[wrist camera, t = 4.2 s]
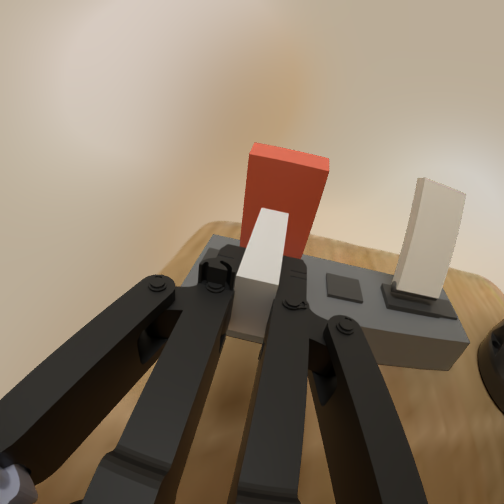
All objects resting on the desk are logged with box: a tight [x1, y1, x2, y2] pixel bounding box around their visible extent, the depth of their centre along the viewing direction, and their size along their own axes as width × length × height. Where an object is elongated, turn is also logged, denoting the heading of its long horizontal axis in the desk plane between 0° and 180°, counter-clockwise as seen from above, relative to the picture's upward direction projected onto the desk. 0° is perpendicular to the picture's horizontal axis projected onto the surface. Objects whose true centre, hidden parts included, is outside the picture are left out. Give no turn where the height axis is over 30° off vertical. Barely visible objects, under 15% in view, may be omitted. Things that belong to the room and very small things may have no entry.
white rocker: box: [391, 178, 466, 301], centre depth 23 cm, size 5×2×10 cm, turn 80°
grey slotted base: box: [181, 234, 470, 371], centre depth 26 cm, size 26×9×4 cm, turn 80°
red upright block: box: [240, 143, 329, 259], centre depth 21 cm, size 5×2×10 cm, turn 80°
